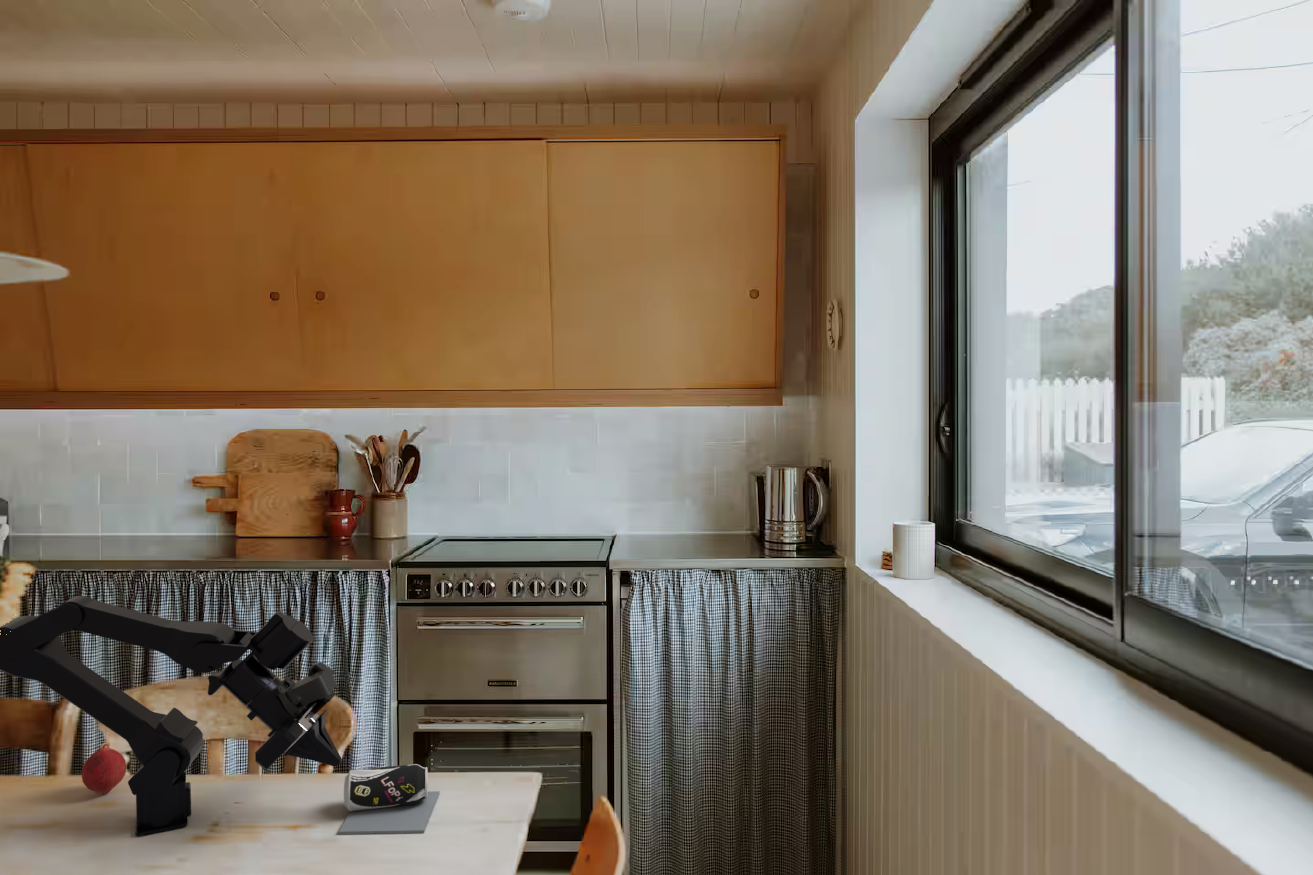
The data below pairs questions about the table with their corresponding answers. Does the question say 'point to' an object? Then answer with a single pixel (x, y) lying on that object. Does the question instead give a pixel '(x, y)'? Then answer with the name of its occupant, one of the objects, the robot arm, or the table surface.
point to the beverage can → (385, 787)
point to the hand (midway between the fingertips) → (339, 763)
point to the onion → (103, 769)
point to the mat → (391, 818)
